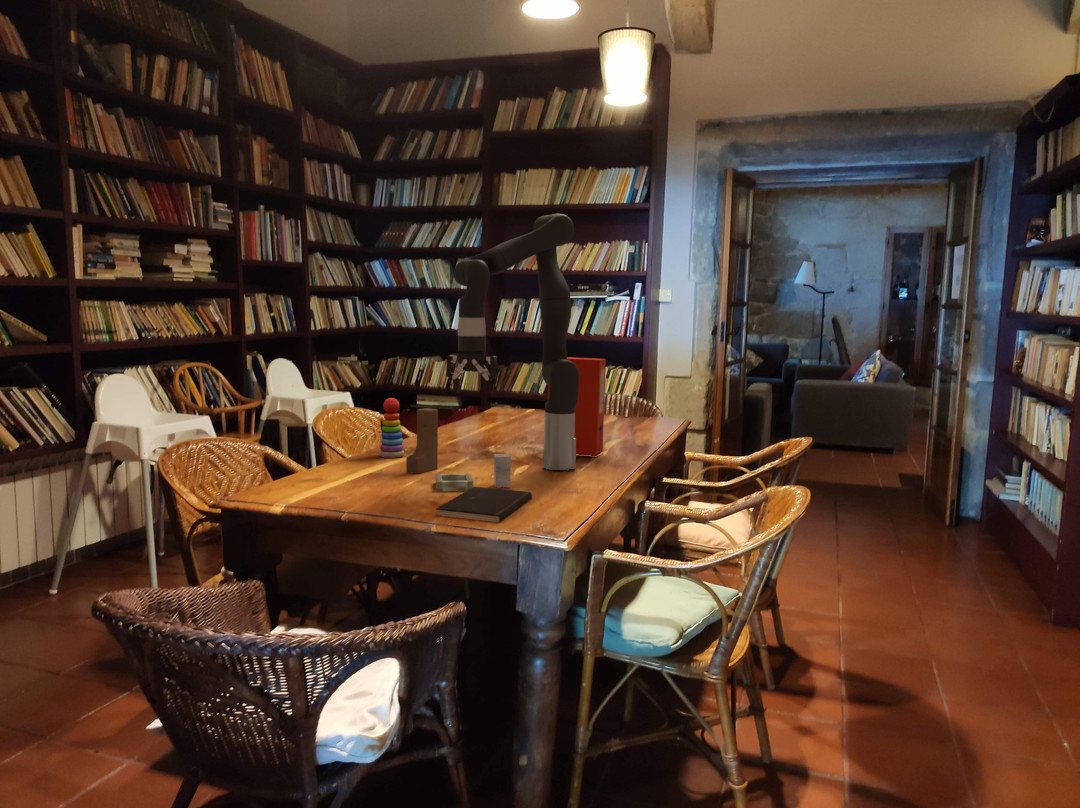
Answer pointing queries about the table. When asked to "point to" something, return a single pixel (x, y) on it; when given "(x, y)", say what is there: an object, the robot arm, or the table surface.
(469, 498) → the hardcover book
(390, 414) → the stacking toy
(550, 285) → the robot arm
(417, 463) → the wooden block
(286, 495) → the table surface
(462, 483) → the grey shallow square tray
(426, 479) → the table surface
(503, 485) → the gray rectangular block
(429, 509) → the table surface
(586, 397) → the file binder
